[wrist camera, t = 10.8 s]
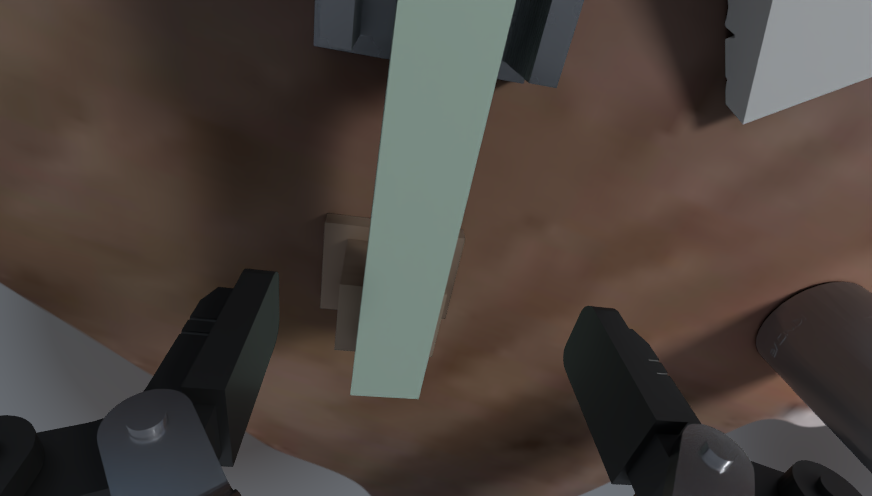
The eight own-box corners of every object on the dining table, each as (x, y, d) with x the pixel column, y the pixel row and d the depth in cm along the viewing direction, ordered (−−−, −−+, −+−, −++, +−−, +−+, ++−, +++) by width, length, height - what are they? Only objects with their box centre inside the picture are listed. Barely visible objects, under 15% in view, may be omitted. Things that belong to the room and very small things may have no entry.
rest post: (463, 229, 29) (476, 283, 24) (443, 308, 33) (451, 369, 28) (327, 213, 28) (312, 266, 23) (322, 297, 32) (308, 359, 27)
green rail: (531, -186, 14) (573, -234, 11) (415, 344, 27) (418, 398, 23) (422, -217, 14) (430, -278, 10) (356, 340, 26) (350, 395, 23)
